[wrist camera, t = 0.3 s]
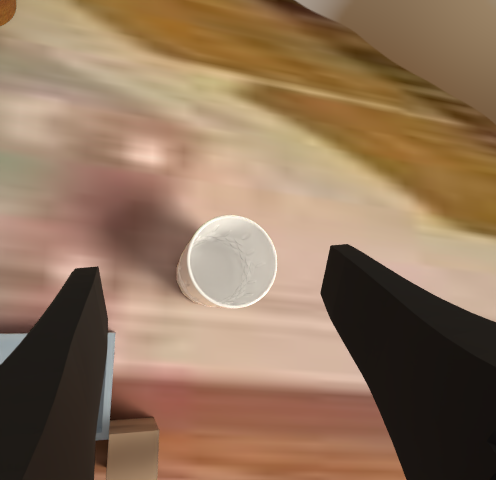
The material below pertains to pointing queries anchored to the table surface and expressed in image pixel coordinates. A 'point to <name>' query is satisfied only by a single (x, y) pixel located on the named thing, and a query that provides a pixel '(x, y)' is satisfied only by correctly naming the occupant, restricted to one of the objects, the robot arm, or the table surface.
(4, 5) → the disposable coffee cup
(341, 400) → the table surface
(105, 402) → the parts tray
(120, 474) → the walnut block
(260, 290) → the white cup
